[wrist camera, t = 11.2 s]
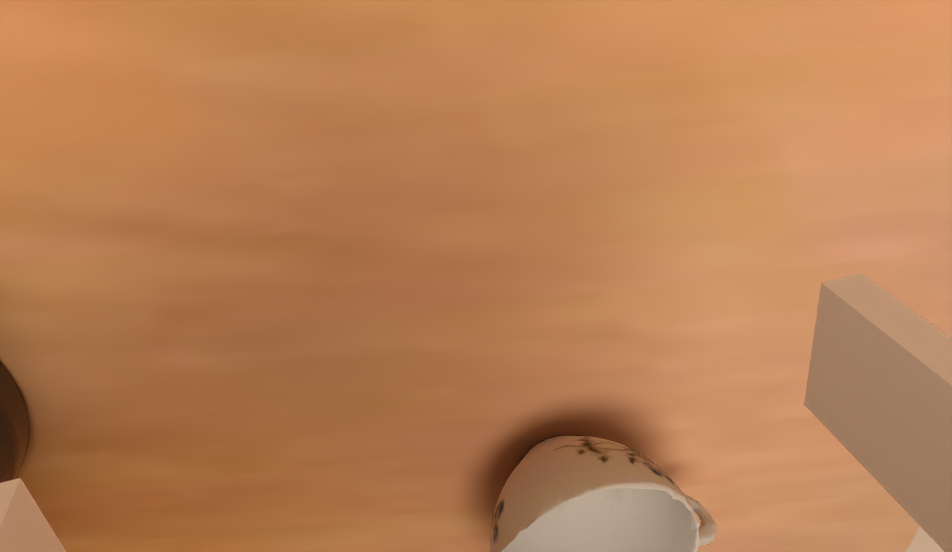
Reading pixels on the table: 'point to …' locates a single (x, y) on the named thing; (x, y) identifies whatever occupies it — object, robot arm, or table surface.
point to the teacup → (594, 503)
